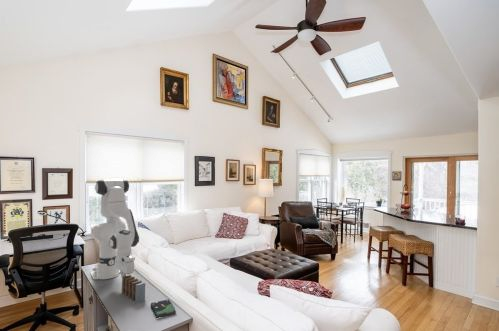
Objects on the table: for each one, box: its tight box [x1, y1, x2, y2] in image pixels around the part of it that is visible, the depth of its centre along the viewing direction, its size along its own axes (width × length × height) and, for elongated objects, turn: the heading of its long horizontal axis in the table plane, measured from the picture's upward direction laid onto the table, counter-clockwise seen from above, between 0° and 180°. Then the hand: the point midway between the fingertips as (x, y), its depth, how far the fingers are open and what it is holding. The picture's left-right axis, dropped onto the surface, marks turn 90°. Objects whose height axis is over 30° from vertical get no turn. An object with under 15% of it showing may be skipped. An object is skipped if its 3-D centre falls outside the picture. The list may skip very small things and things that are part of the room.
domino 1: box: [121, 274, 132, 295], centre depth 169 cm, size 2×5×10 cm, turn 140°
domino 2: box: [124, 276, 136, 297], centre depth 166 cm, size 2×5×10 cm, turn 139°
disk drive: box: [150, 299, 177, 319], centre depth 147 cm, size 10×3×15 cm
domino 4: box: [131, 279, 143, 301], centre depth 161 cm, size 2×5×10 cm, turn 140°
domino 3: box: [127, 277, 139, 299], centre depth 163 cm, size 2×5×10 cm, turn 139°
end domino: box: [134, 281, 146, 303], centre depth 158 cm, size 2×5×10 cm, turn 139°
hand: (123, 277), depth 172 cm, fingers closed
